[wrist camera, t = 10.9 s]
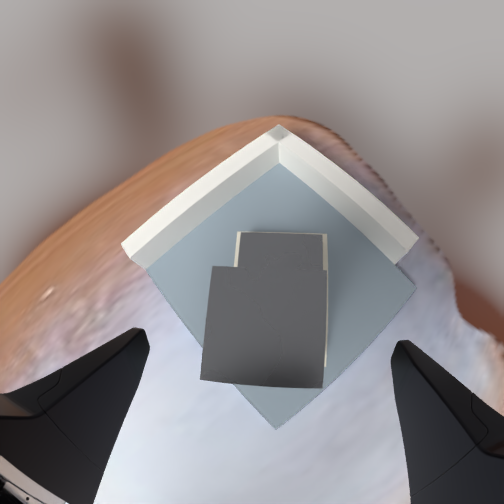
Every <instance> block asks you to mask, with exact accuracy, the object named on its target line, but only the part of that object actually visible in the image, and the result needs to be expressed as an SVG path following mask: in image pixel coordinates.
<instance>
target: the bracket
mask: <svg viewBox="0 0 504 504" xmlns="http://www.w3.org/2000/svg"><path fill="white" fill-rule="evenodd" d="M326 316H327V270H323V237H322V235H320V234H292V233H259V232H241V235H240V245H239V255H238V265H237V267H228V266H212V272H211V280H210V288H209V297H208V305H207V314H206V323H205V333H204V343H203V353H202V363H201V375H200V380H207V381H214V382H222V383H230V384H240V385H250V386H263V387H280V388H315V389H323V377H324V363H325V344H326Z"/></svg>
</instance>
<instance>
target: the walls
mask: <svg viewBox="0 0 504 504" xmlns="http://www.w3.org/2000/svg"><path fill="white" fill-rule="evenodd" d="M278 163H280V164H282V165H283V166H284V167H286V168H287V169H288V170H289V171H291V172H292V173H293V174H294V175H296V176H297V177H298V178H299V179H301V180H302V181H303V182H304V183H305V184H307V185H308V186H309V187H310V188H312V189H313V190H314V191H315V192H316V193H317V194H319V195H320V196H321V197H322V198H323V199H325V200H326V201H327V202H328V203H329V204H330V205H331V206H333V207H334V208H335V209H336V210H337V211H338V212H339V213H341V214H342V215H343V216H344V217H345V218H346V219H347V220H348V221H350V222H351V223H352V224H353V225H354V226H355V227H356V228H357V229H358V230H359V231H360V232H361V233H363V234H364V235H365V236H366V237H367V238H368V239H369V240H370V241H371V242H372V243H373V244H374V245H375V246H376V247H377V248H378V249H379V250H380V251H381V252H382V253H383V254H384V255H385V256H386V257H388V258H389V259H390V260H391V261H392V262H393V263H394V264H396V263H397V262H398V261H399V260H400V259H401V258H402V257H404V256H405V255H406V254H407V253H408V252H409V250H410V249H411V248H412V247H413V245H414V244H415V243H416V241H417V240H418V239H419V237H418V236H417V235H416V234H415V233H414V232H413V231H412V230H411V229H410V228H409V227H408V226H407V225H406V224H405V223H404V222H403V221H402V220H401V219H399V218H398V217H397V216H396V215H395V214H394V213H393V212H392V211H391V210H390V209H389V208H387V207H386V206H385V205H384V204H383V203H382V202H381V201H380V200H378V199H377V198H376V197H375V196H374V195H373V194H371V193H370V192H369V191H368V190H367V189H366V188H364V187H363V186H362V185H361V184H360V183H358V182H357V181H356V180H355V179H353V178H352V177H351V176H350V175H348V174H347V173H346V172H345V171H343V170H342V169H341V168H340V167H338V166H337V165H336V164H334V163H333V162H332V161H330V160H329V159H328V158H326V157H325V156H324V155H322V154H321V153H320V152H318V151H317V150H316V149H314V148H313V147H311V146H310V145H309V144H307V143H306V142H304V141H303V140H301V139H300V138H299V137H297V136H296V135H294V134H293V133H291V132H290V131H288V130H287V129H285V128H284V127H282V126H281V125H279V124H278V125H277V126H275V127H274V128H272V129H271V130H269V131H267V132H266V133H264V134H263V135H261V136H260V137H258V138H257V139H255V140H254V141H252V142H251V143H249V144H248V145H246V146H245V147H243V148H242V149H240V150H239V151H238V152H236V153H235V154H233V155H232V156H230V157H229V158H228V159H226V160H225V161H223V162H222V163H221V164H219V165H218V166H216V167H215V168H214V169H212V170H211V171H210V172H208V173H207V174H206V175H204V176H203V177H201V178H200V179H199V180H198V181H196V182H195V183H194V184H192V185H191V186H190V187H188V188H187V189H186V190H184V191H183V192H182V193H181V194H179V195H178V196H177V197H176V198H174V199H173V200H172V201H171V202H169V203H168V204H167V205H166V206H164V207H163V208H162V209H161V210H160V211H158V212H157V213H156V214H155V215H153V216H152V217H151V218H150V219H149V220H148V221H146V222H145V223H144V224H143V225H142V226H141V227H139V228H138V229H137V230H136V231H135V232H134V233H132V234H131V235H130V236H129V237H128V238H127V239H126V240H125V241H123V242H122V243H121V245H122V247H123V248H124V250H125V252H126V253H127V255H128V257H129V258H130V259H131V260H133V261H134V262H135V263H137V264H138V265H139V266H141V267H142V268H144V269H145V270H146V269H147V268H148V267H149V266H151V265H152V264H153V263H154V262H155V261H156V260H157V259H159V258H160V257H161V256H162V255H163V254H164V253H166V252H167V251H168V250H169V249H170V248H172V247H173V246H174V245H175V244H176V243H177V242H179V241H180V240H181V239H182V238H183V237H185V236H186V235H187V234H188V233H189V232H191V231H192V230H193V229H194V228H196V227H197V226H198V225H199V224H200V223H202V222H203V221H204V220H205V219H207V218H208V217H209V216H210V215H212V214H213V213H214V212H215V211H217V210H218V209H219V208H220V207H222V206H223V205H224V204H226V203H227V202H228V201H229V200H231V199H232V198H233V197H234V196H236V195H237V194H238V193H240V192H241V191H242V190H244V189H245V188H246V187H248V186H249V185H250V184H251V183H253V182H254V181H255V180H257V179H258V178H259V177H261V176H262V175H263V174H265V173H266V172H267V171H269V170H270V169H272V168H273V167H274V166H276V165H277V164H278Z"/></svg>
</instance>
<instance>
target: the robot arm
mask: <svg viewBox="0 0 504 504" xmlns="http://www.w3.org/2000/svg"><path fill="white" fill-rule="evenodd" d="M149 350H150V346H149V342H148V339H147V336H146V333H145V330H144V329H141V328H132V329H130V330H128V331H126V332H125V333H123V334H121V335H119V336H118V337H116V338H114V339H112V340H111V341H109V342H107V343H105V344H103V345H102V346H100V347H98V348H96V349H95V350H93V351H91V352H89V353H87V354H86V355H84V356H82V357H80V358H79V359H77V360H75V361H73V362H71V363H70V364H68V365H66V366H64V367H63V368H61V369H59V370H57V371H55V372H53V373H52V374H50V375H48V376H46V377H44V378H42V379H40V380H37V381H35V382H33V383H31V384H29V385H26V386H24V387H22V388H19V389H17V390H15V391H12V392H10V393H4V394H0V504H65V503H66V502H67V503H69V504H93V503H94V500H95V497H96V494H97V491H98V488H99V485H100V482H101V480H102V477H103V474H104V471H105V468H106V465H107V463H108V460H109V457H110V455H111V452H112V449H113V447H114V444H115V442H116V439H117V437H118V434H119V431H120V429H121V427H122V424H123V422H124V419H125V417H126V414H127V412H128V409H129V407H130V405H131V402H132V400H133V397H134V395H135V393H136V390H137V388H138V386H139V383H140V380H141V377H142V373H143V370H144V367H145V364H146V360H147V357H148V354H149ZM391 369H392V377H393V385H394V394H395V401H396V406H397V411H398V416H399V421H400V426H401V431H402V437H403V443H404V449H405V455H406V462H407V470H408V478H409V487H410V497H411V498H410V499H411V504H504V416H502V415H501V414H499V413H498V412H497V411H495V410H494V409H492V408H491V407H490V406H488V405H487V404H486V403H485V402H483V401H482V400H481V399H480V398H479V397H477V396H476V395H475V394H474V393H472V392H471V391H470V390H469V389H468V388H467V387H466V386H464V385H463V384H462V383H461V382H460V381H458V380H457V379H456V378H455V377H454V376H452V375H451V374H450V373H449V372H448V371H446V370H445V369H444V368H443V367H442V366H440V365H439V364H438V363H437V362H435V361H434V360H433V359H432V358H431V357H429V356H428V355H427V354H426V353H424V352H423V351H422V350H421V349H419V348H418V347H417V346H416V345H414V344H413V343H412V342H411V341H409V340H400V341H398V342H397V344H396V346H395V349H394V352H393V354H392V357H391Z"/></svg>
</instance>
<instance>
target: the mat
mask: <svg viewBox="0 0 504 504" xmlns="http://www.w3.org/2000/svg"><path fill="white" fill-rule="evenodd" d="M241 232H259V233H292V234H320V235H322V237H323V270H327V316H326V344H325V363H324V377H323V389H315V388H280V387H263V386H250V385H240V384H233V385H234V386H235V387H236V388H237V389H238V390H239V391H240V393H241V394H242V395H243V396H244V397H245V398H246V399H247V400H248V401H249V402H250V403H251V405H252V406H253V407H254V408H255V409H256V410H257V411H258V412H259V413H260V414H261V415H262V416H263V417H264V418H265V419H266V420H267V421H268V422H269V423H270V424H271V425H272V426H273V427H274V428H275V429H278V428H279V427H280V426H282V425H283V424H284V423H285V422H287V421H288V420H289V419H290V418H292V417H293V416H294V415H295V414H297V413H298V412H299V411H300V410H301V409H303V408H304V407H305V406H306V405H307V404H309V403H310V402H311V401H312V400H313V399H314V398H316V397H317V396H318V395H319V394H320V393H321V392H322V391H323V390H324V389H326V388H327V387H328V386H329V385H330V384H331V383H332V382H333V381H334V380H335V379H336V378H337V377H338V376H339V375H341V374H342V373H343V372H344V371H345V370H346V369H347V368H348V367H349V366H350V365H351V364H352V363H353V362H354V361H355V360H356V359H357V358H358V357H359V355H360V354H361V353H362V352H363V351H364V350H365V349H366V348H367V347H368V346H369V345H370V344H371V343H372V342H373V341H374V339H375V338H376V337H377V336H378V335H379V334H380V333H381V332H382V330H383V329H384V328H385V327H386V326H387V325H388V324H389V322H390V321H391V320H392V319H393V318H394V316H395V315H396V314H397V313H398V312H399V310H400V309H401V308H402V307H403V305H404V304H405V303H406V302H407V300H408V299H409V298H410V296H411V295H412V294H413V293H414V291H415V290H416V289H417V287H416V286H415V285H414V284H413V283H412V282H411V281H410V280H409V279H408V278H407V277H406V276H405V275H404V274H403V273H402V272H401V271H400V270H399V269H398V268H397V267H396V266H395V264H394V263H393V262H392V261H391V260H390V259H389V258H388V257H386V256H385V255H384V254H383V253H382V252H381V251H380V250H379V249H378V248H377V247H376V246H375V245H374V244H373V243H372V242H371V241H370V240H369V239H368V238H367V237H366V236H365V235H364V234H363V233H361V232H360V231H359V230H358V229H357V228H356V227H355V226H354V225H353V224H352V223H351V222H350V221H348V220H347V219H346V218H345V217H344V216H343V215H342V214H341V213H339V212H338V211H337V210H336V209H335V208H334V207H333V206H331V205H330V204H329V203H328V202H327V201H326V200H325V199H323V198H322V197H321V196H320V195H319V194H317V193H316V192H315V191H314V190H313V189H312V188H310V187H309V186H308V185H307V184H305V183H304V182H303V181H302V180H301V179H299V178H298V177H297V176H296V175H294V174H293V173H292V172H291V171H289V170H288V169H287V168H286V167H284V166H283V165H282V164H280V163H278V164H277V165H276V166H274V167H273V168H272V169H270V170H269V171H267V172H266V173H265V174H263V175H262V176H261V177H259V178H258V179H257V180H255V181H254V182H253V183H251V184H250V185H249V186H248V187H246V188H245V189H244V190H242V191H241V192H240V193H238V194H237V195H236V196H234V197H233V198H232V199H231V200H229V201H228V202H227V203H226V204H224V205H223V206H222V207H220V208H219V209H218V210H217V211H215V212H214V213H213V214H212V215H210V216H209V217H208V218H207V219H205V220H204V221H203V222H202V223H200V224H199V225H198V226H197V227H196V228H194V229H193V230H192V231H191V232H189V233H188V234H187V235H186V236H185V237H183V238H182V239H181V240H180V241H179V242H177V243H176V244H175V245H174V246H173V247H172V248H170V249H169V250H168V251H167V252H166V253H164V254H163V255H162V256H161V257H160V258H159V259H157V260H156V261H155V262H154V263H153V264H152V265H151V266H149V267H148V268H147V269H146V271H147V273H148V274H149V276H150V277H151V279H152V280H153V282H154V283H155V285H156V286H157V287H158V289H159V290H160V292H161V293H162V295H163V296H164V297H165V299H166V300H167V302H168V303H169V304H170V306H171V307H172V309H173V310H174V311H175V313H176V314H177V315H178V317H179V318H180V319H181V321H182V322H183V323H184V325H185V326H186V327H187V329H188V330H189V331H190V333H191V334H192V335H193V336H194V338H195V339H196V340H197V341H198V343H199V344H200V345H201V347H202V348H203V343H204V333H205V323H206V314H207V305H208V297H209V288H210V280H211V272H212V266H228V267H237V265H238V255H239V245H240V235H241Z"/></svg>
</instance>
